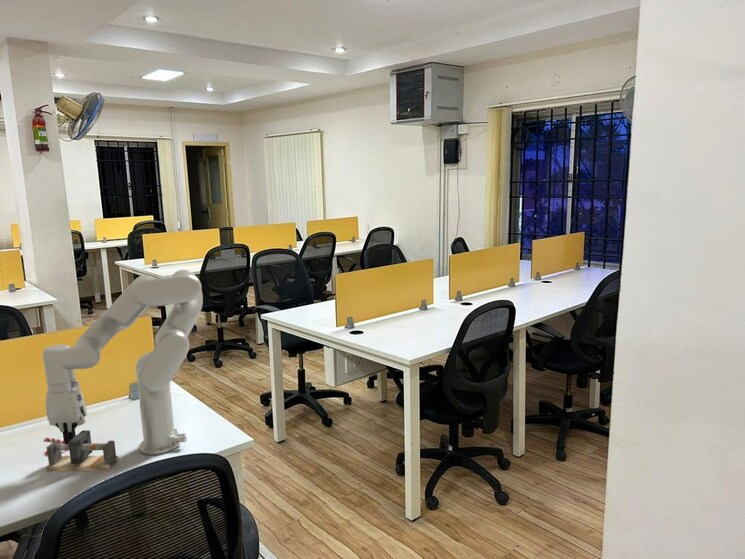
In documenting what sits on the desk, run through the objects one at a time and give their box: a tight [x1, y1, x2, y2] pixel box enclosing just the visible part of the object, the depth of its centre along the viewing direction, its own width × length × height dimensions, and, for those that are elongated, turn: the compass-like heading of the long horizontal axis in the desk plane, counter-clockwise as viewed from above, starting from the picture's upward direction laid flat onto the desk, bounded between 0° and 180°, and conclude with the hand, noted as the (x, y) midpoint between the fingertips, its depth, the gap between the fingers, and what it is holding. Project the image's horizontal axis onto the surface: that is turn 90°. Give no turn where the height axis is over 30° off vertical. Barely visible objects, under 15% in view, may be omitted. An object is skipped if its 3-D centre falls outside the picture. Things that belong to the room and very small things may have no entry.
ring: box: [68, 429, 94, 464], centre depth 167 cm, size 2×8×7 cm, turn 178°
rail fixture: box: [45, 440, 120, 472], centre depth 168 cm, size 19×7×7 cm, turn 88°
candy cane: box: [43, 437, 69, 457], centre depth 181 cm, size 8×1×15 cm
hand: (70, 442), depth 167 cm, fingers closed
